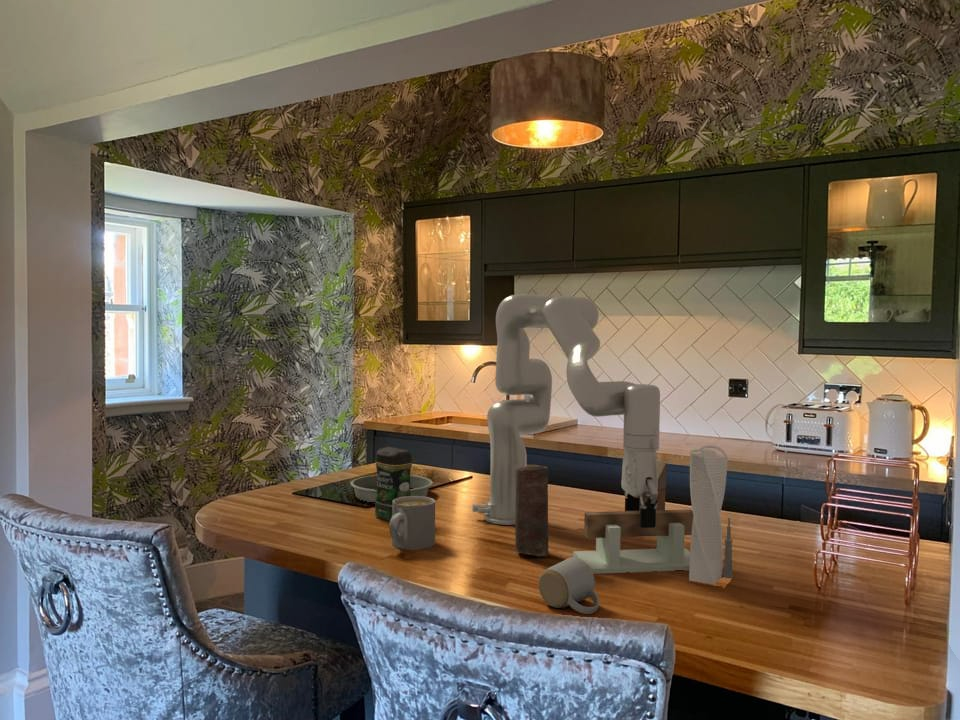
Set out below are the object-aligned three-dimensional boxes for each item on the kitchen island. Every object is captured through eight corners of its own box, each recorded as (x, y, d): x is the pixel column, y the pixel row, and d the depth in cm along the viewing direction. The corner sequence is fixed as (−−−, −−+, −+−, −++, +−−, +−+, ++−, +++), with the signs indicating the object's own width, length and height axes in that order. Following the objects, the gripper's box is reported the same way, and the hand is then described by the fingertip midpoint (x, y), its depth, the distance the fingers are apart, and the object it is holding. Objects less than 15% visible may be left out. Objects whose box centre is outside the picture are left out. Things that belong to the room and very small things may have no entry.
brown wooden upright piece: (665, 514, 198) (666, 449, 197) (644, 520, 190) (645, 453, 189) (653, 511, 200) (655, 447, 200) (632, 518, 193) (633, 451, 192)
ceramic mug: (534, 603, 131) (535, 562, 131) (562, 592, 137) (563, 552, 137) (581, 621, 124) (583, 577, 123) (608, 608, 130) (610, 566, 129)
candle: (525, 561, 155) (526, 469, 154) (508, 552, 162) (509, 463, 161) (554, 556, 159) (556, 466, 158) (537, 547, 165) (538, 461, 164)
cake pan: (429, 506, 204) (429, 491, 204) (342, 505, 204) (342, 489, 204) (435, 488, 229) (435, 474, 228) (358, 487, 229) (358, 472, 229)
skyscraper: (723, 591, 139) (726, 448, 138) (681, 583, 143) (684, 444, 142) (733, 579, 146) (736, 442, 145) (693, 572, 150) (696, 439, 149)
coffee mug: (414, 534, 175) (414, 494, 174) (443, 543, 168) (444, 500, 168) (371, 546, 165) (372, 503, 164) (401, 556, 158) (401, 511, 158)
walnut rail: (587, 538, 152) (587, 514, 152) (584, 535, 155) (584, 512, 154) (694, 535, 156) (695, 512, 155) (690, 531, 158) (690, 509, 158)
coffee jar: (369, 517, 191) (370, 447, 190) (392, 511, 197) (392, 444, 196) (394, 523, 185) (394, 451, 184) (416, 518, 190) (417, 448, 190)
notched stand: (588, 573, 148) (589, 530, 147) (572, 555, 159) (573, 515, 159) (708, 569, 151) (709, 527, 151) (684, 552, 163) (685, 512, 163)
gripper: (611, 436, 162) (610, 511, 163) (638, 448, 145) (637, 533, 146) (643, 436, 163) (641, 511, 164) (674, 448, 146) (672, 532, 147)
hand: (639, 521), depth 155 cm, fingers open, 9 cm apart
